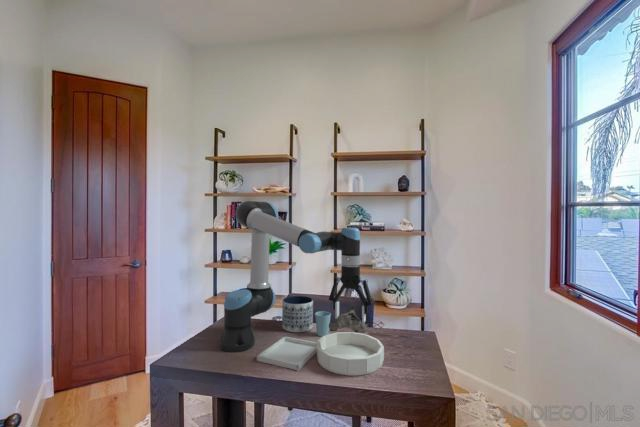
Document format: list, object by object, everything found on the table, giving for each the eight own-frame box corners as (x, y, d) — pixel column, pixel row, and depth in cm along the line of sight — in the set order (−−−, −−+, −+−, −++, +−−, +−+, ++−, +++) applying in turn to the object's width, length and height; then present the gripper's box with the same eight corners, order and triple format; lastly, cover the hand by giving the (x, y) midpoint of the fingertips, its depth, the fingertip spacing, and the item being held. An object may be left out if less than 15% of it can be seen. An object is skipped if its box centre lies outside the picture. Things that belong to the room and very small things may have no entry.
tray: (256, 360, 124) (256, 355, 124) (284, 340, 144) (284, 336, 144) (298, 370, 117) (298, 365, 117) (321, 347, 137) (321, 343, 137)
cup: (333, 336, 150) (333, 314, 150) (318, 339, 147) (318, 316, 147) (326, 331, 157) (326, 310, 157) (312, 333, 153) (312, 312, 154)
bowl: (306, 366, 119) (306, 351, 119) (331, 341, 144) (331, 328, 144) (373, 382, 109) (373, 364, 109) (388, 352, 133) (388, 338, 133)
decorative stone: (327, 332, 121) (329, 305, 124) (329, 329, 130) (330, 304, 133) (368, 335, 119) (369, 308, 122) (367, 333, 128) (368, 307, 131)
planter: (317, 324, 166) (317, 297, 166) (304, 335, 151) (304, 305, 151) (291, 320, 172) (291, 294, 172) (276, 329, 158) (276, 301, 158)
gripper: (320, 264, 128) (320, 318, 127) (376, 269, 118) (376, 326, 118) (327, 262, 135) (327, 313, 134) (380, 266, 125) (380, 320, 125)
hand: (350, 319), depth 126 cm, fingers closed on decorative stone, 11 cm apart
